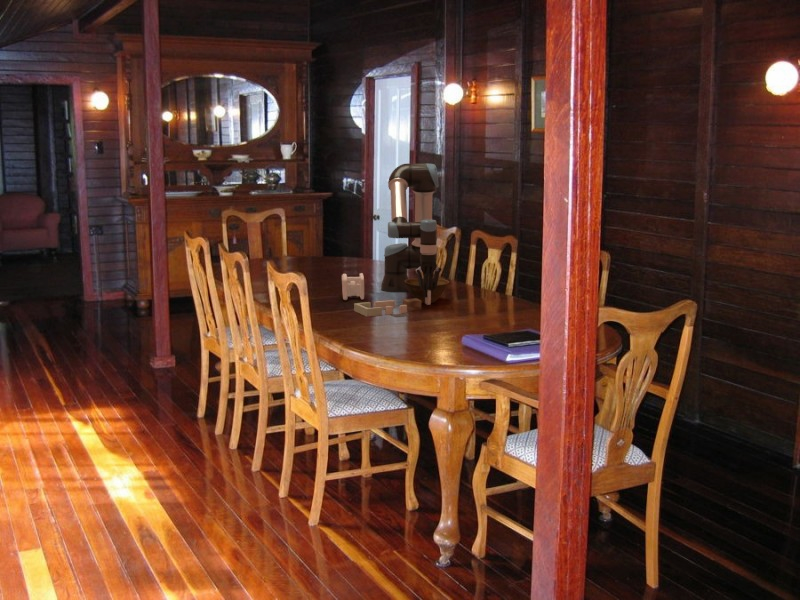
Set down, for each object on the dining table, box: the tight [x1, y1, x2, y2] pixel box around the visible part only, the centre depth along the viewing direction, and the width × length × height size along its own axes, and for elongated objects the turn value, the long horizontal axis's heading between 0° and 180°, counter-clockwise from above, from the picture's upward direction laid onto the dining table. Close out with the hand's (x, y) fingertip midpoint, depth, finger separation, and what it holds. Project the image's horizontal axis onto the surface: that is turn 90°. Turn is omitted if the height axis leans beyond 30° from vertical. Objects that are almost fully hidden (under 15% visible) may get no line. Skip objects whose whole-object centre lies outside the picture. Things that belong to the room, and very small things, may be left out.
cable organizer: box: [341, 272, 365, 301], centre depth 448 cm, size 15×11×12 cm
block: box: [401, 297, 422, 312], centre depth 423 cm, size 7×6×4 cm
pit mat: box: [390, 313, 411, 318], centre depth 410 cm, size 7×6×1 cm
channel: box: [373, 299, 408, 316], centre depth 419 cm, size 10×14×4 cm
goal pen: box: [353, 301, 383, 318], centre depth 414 cm, size 8×14×4 cm, turn 26°
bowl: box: [404, 277, 450, 304], centre depth 441 cm, size 22×23×10 cm
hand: (427, 304), depth 427 cm, fingers closed
